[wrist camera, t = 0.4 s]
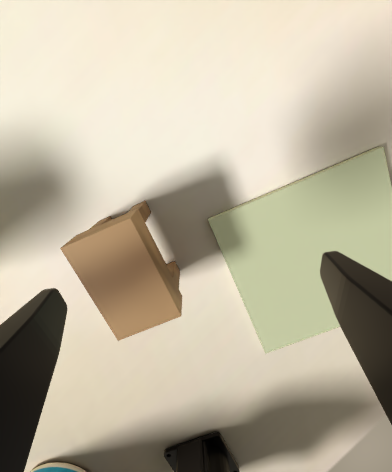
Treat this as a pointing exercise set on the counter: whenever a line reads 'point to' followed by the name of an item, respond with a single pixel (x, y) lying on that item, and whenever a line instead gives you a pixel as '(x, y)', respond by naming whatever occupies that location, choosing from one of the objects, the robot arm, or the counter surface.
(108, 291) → the walnut stool
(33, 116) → the counter surface
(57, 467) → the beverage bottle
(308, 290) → the sage board
